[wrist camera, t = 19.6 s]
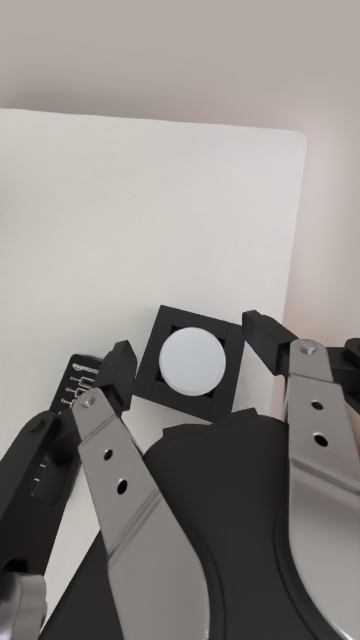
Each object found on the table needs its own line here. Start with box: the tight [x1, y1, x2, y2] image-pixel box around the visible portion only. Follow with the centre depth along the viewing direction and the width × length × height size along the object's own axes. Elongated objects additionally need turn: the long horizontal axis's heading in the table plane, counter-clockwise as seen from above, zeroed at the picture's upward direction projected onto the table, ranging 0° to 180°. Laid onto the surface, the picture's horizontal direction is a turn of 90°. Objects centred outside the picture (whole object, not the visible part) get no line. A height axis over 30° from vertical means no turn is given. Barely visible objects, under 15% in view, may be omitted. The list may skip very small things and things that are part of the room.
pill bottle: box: [159, 327, 226, 396], centre depth 15 cm, size 6×5×10 cm
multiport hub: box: [31, 354, 103, 501], centre depth 17 cm, size 4×14×2 cm, turn 165°
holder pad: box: [132, 305, 245, 423], centre depth 18 cm, size 10×10×3 cm
